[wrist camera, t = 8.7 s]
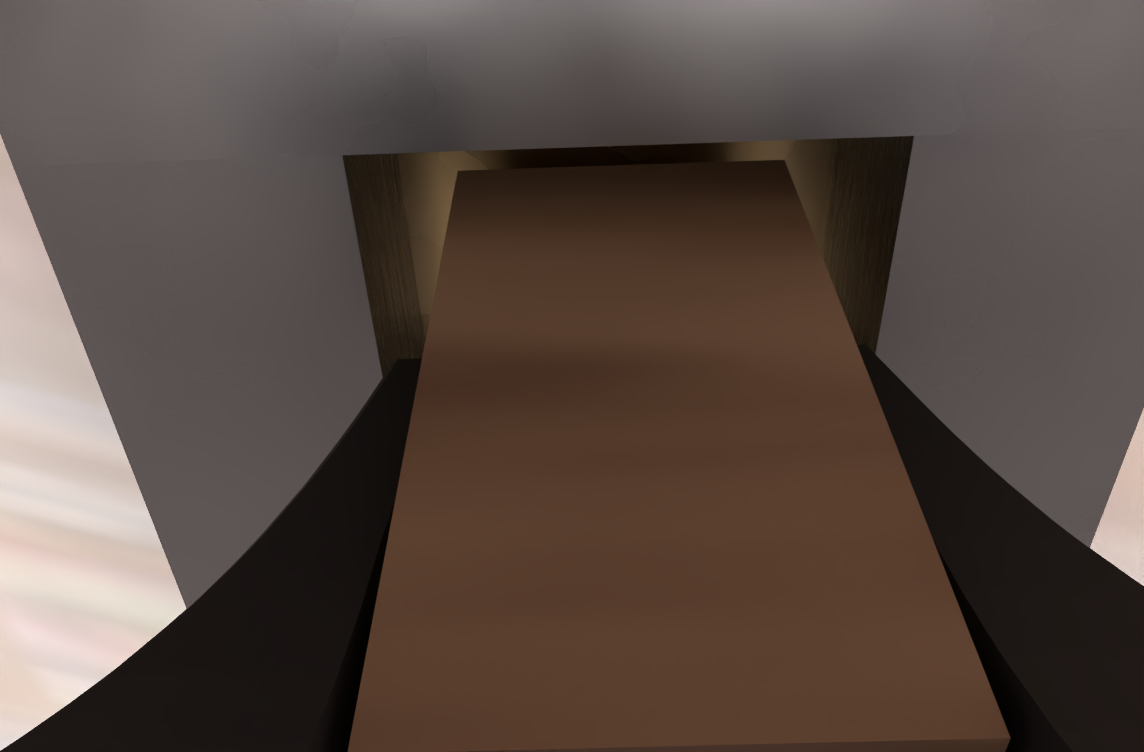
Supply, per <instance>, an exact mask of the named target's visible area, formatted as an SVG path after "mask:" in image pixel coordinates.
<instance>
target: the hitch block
mask: <svg viewBox="0 0 1144 752" xmlns="http://www.w3.org/2000/svg"><path fill="white" fill-rule="evenodd" d="M0 134H1V136H2V139H3V142H4V144H5V147H6V149H7V152H8V154H9V157H10V159H11V162H12V164H13V167H14V170H15V172H16V175H17V177H18V180H19V182H20V185H21V187H22V190H23V192H24V195H25V198H26V200H27V203H28V205H29V208H30V210H31V213H32V215H33V218H34V221H35V223H36V226H37V228H38V231H39V233H40V236H41V238H42V241H43V243H44V246H45V249H46V251H47V254H48V256H49V259H50V261H51V264H52V266H53V269H54V271H55V274H56V277H57V279H58V282H59V284H60V287H61V289H62V292H63V294H64V297H65V300H66V302H67V305H68V307H69V310H70V312H71V315H72V317H73V320H74V322H75V325H76V328H77V330H78V333H79V335H80V338H81V340H82V343H83V345H84V348H85V350H86V353H87V356H88V358H89V361H90V363H91V366H92V368H93V371H94V373H95V376H96V379H97V381H98V384H99V386H100V389H101V391H102V394H103V396H104V399H105V401H106V404H107V407H108V409H109V412H110V414H111V417H112V419H113V422H114V424H115V427H116V429H117V432H118V435H119V437H120V440H121V442H122V445H123V447H124V450H125V452H126V455H127V458H128V460H129V463H130V465H131V468H132V470H133V473H134V475H135V478H136V480H137V483H138V486H139V488H140V491H141V493H142V496H143V498H144V501H145V503H146V506H147V508H148V511H149V514H150V516H151V519H152V521H153V524H154V526H155V529H156V531H157V534H158V537H159V539H160V542H161V544H162V547H163V549H164V552H165V554H166V557H167V559H168V562H169V565H170V567H171V570H172V572H173V575H174V577H175V580H176V582H177V585H178V588H179V590H180V593H181V595H182V598H183V600H184V603H185V605H186V608H188V607H189V606H191V605H192V604H193V603H194V602H195V601H196V600H197V599H198V598H199V597H200V596H201V595H202V594H203V593H204V592H205V591H207V590H208V589H209V588H210V587H211V586H212V585H213V584H214V583H215V582H216V581H217V580H218V579H219V578H220V577H221V576H222V575H223V574H224V573H225V572H226V571H227V570H228V569H229V568H230V567H231V566H232V565H233V564H234V563H235V562H236V561H237V560H238V559H239V558H240V557H241V556H242V555H243V554H244V553H245V552H246V551H247V550H248V548H249V547H250V546H251V545H252V544H253V543H254V542H255V541H256V540H257V539H258V538H259V537H260V536H261V535H262V533H263V532H264V531H265V530H266V529H267V528H268V526H269V525H270V524H271V523H272V522H273V521H274V520H275V518H276V517H277V516H278V515H279V514H280V513H281V512H282V510H283V509H284V508H285V507H286V506H287V505H288V503H289V502H290V501H291V500H292V499H293V498H294V497H295V495H296V494H297V493H298V492H299V491H300V490H301V488H302V487H303V486H304V485H305V483H306V482H307V481H308V480H309V479H310V477H311V476H312V475H313V473H314V472H315V471H316V470H317V468H318V467H319V466H320V464H321V463H322V462H323V460H324V459H325V458H326V457H327V455H328V454H329V453H330V451H331V450H332V449H333V447H334V446H335V445H336V443H337V442H338V441H339V440H340V438H341V437H342V436H343V434H344V433H345V431H346V430H347V429H348V427H349V426H350V424H351V423H352V422H353V420H354V419H355V418H356V416H357V415H358V413H359V412H360V410H361V409H362V408H363V406H364V405H365V403H366V402H367V400H368V399H369V397H370V396H371V394H372V393H373V391H374V390H375V388H376V387H377V385H378V384H379V382H380V381H381V379H382V378H383V376H384V375H385V373H386V372H387V370H388V369H389V367H390V366H391V365H392V364H393V363H394V362H395V361H396V360H397V359H414V358H422V356H423V351H424V346H425V341H426V335H427V330H428V325H429V320H430V314H431V309H432V304H433V298H434V293H435V288H436V283H437V277H438V272H439V267H440V262H441V256H442V251H443V246H444V240H445V235H446V230H447V225H448V219H449V214H450V209H451V204H452V198H453V193H454V188H455V182H456V177H457V172H458V171H464V170H493V169H523V168H553V167H583V166H612V165H642V164H672V163H701V162H731V161H761V160H785V163H786V165H787V168H788V170H789V173H790V175H791V178H792V180H793V183H794V186H795V188H796V191H797V193H798V196H799V198H800V201H801V203H802V206H803V209H804V211H805V214H806V216H807V219H808V221H809V224H810V226H811V229H812V232H813V234H814V237H815V239H816V242H817V244H818V247H819V249H820V252H821V255H822V257H823V260H824V262H825V265H826V267H827V270H828V272H829V275H830V278H831V280H832V283H833V285H834V288H835V290H836V293H837V295H838V298H839V301H840V303H841V306H842V308H843V311H844V313H845V316H846V318H847V321H848V324H849V326H850V329H851V331H852V334H853V336H854V339H855V342H856V344H857V345H867V346H868V347H869V348H870V349H871V350H872V351H873V352H874V353H875V354H876V355H877V356H878V357H879V358H880V360H881V361H882V362H883V363H884V364H885V365H886V366H887V367H888V368H889V369H890V370H891V371H892V372H893V373H894V374H895V375H896V376H897V377H898V378H899V379H900V380H901V381H902V382H903V383H904V384H905V385H906V386H907V387H908V388H909V389H910V390H911V391H912V392H913V393H914V394H915V395H916V396H917V397H918V398H919V399H920V400H921V401H922V402H923V403H924V404H925V405H926V406H927V407H928V408H929V409H930V410H931V411H932V412H933V413H934V414H935V415H936V416H937V417H938V418H939V419H940V420H941V421H942V422H943V423H944V424H945V425H946V426H947V427H948V428H949V429H950V430H951V431H952V432H953V433H954V434H955V435H956V436H957V437H958V438H959V439H960V440H961V441H962V442H964V443H965V444H966V445H967V446H968V447H969V448H970V449H971V450H972V451H973V452H974V453H975V454H976V455H977V456H978V457H980V458H981V459H982V460H983V461H984V462H985V463H986V464H987V465H988V466H989V467H991V468H992V469H993V470H994V471H995V472H996V473H997V474H998V475H1000V476H1001V477H1002V478H1003V479H1004V480H1005V481H1006V482H1007V483H1009V484H1010V485H1011V486H1012V487H1013V488H1015V489H1016V490H1017V491H1018V492H1019V493H1021V494H1022V495H1023V496H1024V497H1025V498H1027V499H1028V500H1029V501H1030V502H1031V503H1033V504H1034V505H1035V506H1036V507H1037V508H1039V509H1040V510H1041V511H1042V512H1043V513H1045V514H1046V515H1047V516H1048V517H1050V518H1051V519H1052V520H1053V521H1054V522H1056V523H1057V524H1058V525H1060V526H1061V527H1062V528H1063V529H1065V530H1066V531H1067V532H1069V533H1070V534H1071V535H1073V536H1074V537H1075V538H1077V539H1078V540H1079V541H1080V542H1082V543H1083V544H1085V545H1086V546H1087V547H1089V548H1090V545H1091V543H1092V540H1093V538H1094V535H1095V532H1096V530H1097V527H1098V525H1099V522H1100V519H1101V517H1102V514H1103V512H1104V509H1105V506H1106V504H1107V501H1108V499H1109V496H1110V493H1111V491H1112V488H1113V486H1114V483H1115V481H1116V478H1117V475H1118V473H1119V470H1120V468H1121V465H1122V462H1123V460H1124V457H1125V455H1126V452H1127V449H1128V447H1129V444H1130V442H1131V439H1132V436H1133V434H1134V431H1135V429H1136V426H1137V423H1138V421H1139V418H1140V416H1141V413H1142V410H1143V408H1144V0H0Z"/></svg>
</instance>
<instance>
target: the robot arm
mask: <svg viewBox="0 0 1144 752" xmlns="http://www.w3.org/2000/svg"><path fill="white" fill-rule="evenodd" d="M857 347H858V349H859V352H860V354H861V357H862V359H863V362H864V365H865V367H866V370H867V372H868V375H869V377H870V380H871V382H872V385H873V388H874V390H875V393H876V395H877V398H878V400H879V403H880V405H881V408H882V411H883V413H884V416H885V418H886V421H887V423H888V426H889V428H890V431H891V434H892V436H893V439H894V441H895V444H896V446H897V449H898V451H899V454H900V457H901V459H902V462H903V464H904V467H905V469H906V472H907V474H908V477H909V480H910V482H911V485H912V487H913V490H914V492H915V495H916V497H917V500H918V503H919V505H920V508H921V510H922V513H923V515H924V518H925V520H926V523H927V526H928V528H929V531H930V533H931V536H932V538H933V541H934V543H935V546H936V549H937V551H938V554H939V556H940V559H941V561H942V564H943V567H944V569H945V572H946V574H947V577H948V579H949V582H950V584H951V587H952V590H953V592H954V595H955V597H956V600H957V602H958V605H959V607H960V610H961V613H962V615H963V618H964V620H965V623H966V625H967V628H968V630H969V633H970V636H971V638H972V641H973V643H974V646H975V648H976V651H977V653H978V656H979V659H980V661H981V664H982V666H983V669H984V671H985V674H986V676H987V679H988V682H989V684H990V687H991V689H992V692H993V694H994V697H995V699H996V702H997V705H998V707H999V710H1000V712H1001V715H1002V717H1003V720H1004V722H1005V725H1006V728H1007V730H1008V733H1009V735H1010V741H1009V743H1008V746H1007V749H1006V751H1005V752H1144V586H1143V585H1141V584H1140V583H1138V582H1137V581H1135V580H1134V579H1132V578H1131V577H1130V576H1128V575H1127V574H1125V573H1124V572H1123V571H1121V570H1120V569H1118V568H1117V567H1115V566H1114V565H1113V564H1111V563H1110V562H1108V561H1107V560H1106V559H1104V558H1103V557H1101V556H1100V555H1099V554H1097V553H1096V552H1094V551H1093V550H1092V549H1090V548H1089V547H1087V546H1086V545H1085V544H1083V543H1082V542H1080V541H1079V540H1078V539H1077V538H1075V537H1074V536H1073V535H1071V534H1070V533H1069V532H1067V531H1066V530H1065V529H1063V528H1062V527H1061V526H1060V525H1058V524H1057V523H1056V522H1054V521H1053V520H1052V519H1051V518H1050V517H1048V516H1047V515H1046V514H1045V513H1043V512H1042V511H1041V510H1040V509H1039V508H1037V507H1036V506H1035V505H1034V504H1033V503H1031V502H1030V501H1029V500H1028V499H1027V498H1025V497H1024V496H1023V495H1022V494H1021V493H1019V492H1018V491H1017V490H1016V489H1015V488H1013V487H1012V486H1011V485H1010V484H1009V483H1007V482H1006V481H1005V480H1004V479H1003V478H1002V477H1001V476H1000V475H998V474H997V473H996V472H995V471H994V470H993V469H992V468H991V467H989V466H988V465H987V464H986V463H985V462H984V461H983V460H982V459H981V458H980V457H978V456H977V455H976V454H975V453H974V452H973V451H972V450H971V449H970V448H969V447H968V446H967V445H966V444H965V443H964V442H962V441H961V440H960V439H959V438H958V437H957V436H956V435H955V434H954V433H953V432H952V431H951V430H950V429H949V428H948V427H947V426H946V425H945V424H944V423H943V422H942V421H941V420H940V419H939V418H938V417H937V416H936V415H935V414H934V413H933V412H932V411H931V410H930V409H929V408H928V407H927V406H926V405H925V404H924V403H923V402H922V401H921V400H920V399H919V398H918V397H917V396H916V395H915V394H914V393H913V392H912V391H911V390H910V389H909V388H908V387H907V386H906V385H905V384H904V383H903V382H902V381H901V380H900V379H899V378H898V377H897V376H896V375H895V374H894V373H893V372H892V371H891V370H890V369H889V368H888V367H887V366H886V365H885V364H884V363H883V362H882V361H881V360H880V358H879V357H878V356H877V355H876V354H875V353H874V352H873V351H872V350H871V349H870V348H869V347H868V346H867V345H857ZM421 362H422V358H414V359H397V360H396V361H395V362H394V363H393V364H392V365H391V366H390V367H389V369H388V370H387V372H386V373H385V375H384V376H383V378H382V379H381V381H380V382H379V384H378V385H377V387H376V388H375V390H374V391H373V393H372V394H371V396H370V397H369V399H368V400H367V402H366V403H365V405H364V406H363V408H362V409H361V410H360V412H359V413H358V415H357V416H356V418H355V419H354V420H353V422H352V423H351V424H350V426H349V427H348V429H347V430H346V431H345V433H344V434H343V436H342V437H341V438H340V440H339V441H338V442H337V443H336V445H335V446H334V447H333V449H332V450H331V451H330V453H329V454H328V455H327V457H326V458H325V459H324V460H323V462H322V463H321V464H320V466H319V467H318V468H317V470H316V471H315V472H314V473H313V475H312V476H311V477H310V479H309V480H308V481H307V482H306V483H305V485H304V486H303V487H302V488H301V490H300V491H299V492H298V493H297V494H296V495H295V497H294V498H293V499H292V500H291V501H290V502H289V503H288V505H287V506H286V507H285V508H284V509H283V510H282V512H281V513H280V514H279V515H278V516H277V517H276V518H275V520H274V521H273V522H272V523H271V524H270V525H269V526H268V528H267V529H266V530H265V531H264V532H263V533H262V535H261V536H260V537H259V538H258V539H257V540H256V541H255V542H254V543H253V544H252V545H251V546H250V547H249V548H248V550H247V551H246V552H245V553H244V554H243V555H242V556H241V557H240V558H239V559H238V560H237V561H236V562H235V563H234V564H233V565H232V566H231V567H230V568H229V569H228V570H227V571H226V572H225V573H224V574H223V575H222V576H221V577H220V578H219V579H218V580H217V581H216V582H215V583H214V584H213V585H212V586H211V587H210V588H209V589H208V590H207V591H205V592H204V593H203V594H202V595H201V596H200V597H199V598H198V599H197V600H196V601H195V602H194V603H193V604H192V605H191V606H189V607H188V608H187V609H186V610H185V611H184V612H183V613H181V614H180V615H179V616H178V617H177V618H176V619H175V620H174V621H172V622H171V623H170V624H169V625H168V626H167V627H166V628H164V629H163V630H162V631H161V632H160V633H158V634H157V635H156V636H155V637H153V638H152V639H151V640H150V641H149V642H147V643H146V644H145V645H144V646H143V647H141V648H140V649H139V650H138V651H137V652H135V653H134V654H133V655H132V656H131V657H129V658H128V659H127V660H126V661H125V662H123V663H122V664H121V665H120V666H119V667H117V668H116V669H115V670H113V671H112V672H111V673H110V674H108V675H107V676H106V677H104V678H103V679H102V680H100V681H99V682H98V683H96V684H95V685H94V686H92V687H91V688H90V689H88V690H87V691H86V692H84V693H83V694H81V695H80V696H79V697H77V698H76V699H75V700H73V701H72V702H71V703H69V704H68V705H67V706H65V707H64V708H62V709H61V710H59V711H58V712H57V713H55V714H54V715H52V716H51V717H49V718H48V719H47V720H45V721H44V722H42V723H41V724H39V725H38V726H37V727H35V728H34V729H32V730H31V731H29V732H28V733H27V734H25V735H24V736H22V737H21V738H19V739H18V740H16V741H15V742H13V743H12V744H10V745H9V746H7V747H6V748H4V749H3V750H1V751H0V752H348V747H349V741H350V736H351V731H352V726H353V720H354V715H355V710H356V705H357V699H358V694H359V689H360V683H361V678H362V673H363V668H364V662H365V657H366V652H367V647H368V641H369V636H370V631H371V625H372V620H373V615H374V610H375V604H376V599H377V594H378V589H379V583H380V578H381V573H382V567H383V562H384V557H385V552H386V546H387V541H388V536H389V530H390V525H391V520H392V515H393V509H394V504H395V499H396V494H397V488H398V483H399V478H400V472H401V467H402V462H403V457H404V451H405V446H406V441H407V436H408V430H409V425H410V420H411V414H412V409H413V404H414V399H415V393H416V388H417V383H418V378H419V372H420V367H421Z"/></svg>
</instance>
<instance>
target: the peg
mask: <svg viewBox="0 0 1144 752" xmlns="http://www.w3.org/2000/svg"><path fill="white" fill-rule="evenodd" d="M1009 741H1010V735H1009V733H1008V730H1007V728H1006V725H1005V722H1004V720H1003V717H1002V715H1001V712H1000V710H999V707H998V705H997V702H996V699H995V697H994V694H993V692H992V689H991V687H990V684H989V682H988V679H987V676H986V674H985V671H984V669H983V666H982V664H981V661H980V659H979V656H978V653H977V651H976V648H975V646H974V643H973V641H972V638H971V636H970V633H969V630H968V628H967V625H966V623H965V620H964V618H963V615H962V613H961V610H960V607H959V605H958V602H957V600H956V597H955V595H954V592H953V590H952V587H951V584H950V582H949V579H948V577H947V574H946V572H945V569H944V567H943V564H942V561H941V559H940V556H939V554H938V551H937V549H936V546H935V543H934V541H933V538H932V536H931V533H930V531H929V528H928V526H927V523H926V520H925V518H924V515H923V513H922V510H921V508H920V505H919V503H918V500H917V497H916V495H915V492H914V490H913V487H912V485H911V482H910V480H909V477H908V474H907V472H906V469H905V467H904V464H903V462H902V459H901V457H900V454H899V451H898V449H897V446H896V444H895V441H894V439H893V436H892V434H891V431H890V428H889V426H888V423H887V421H886V418H885V416H884V413H883V411H882V408H881V405H880V403H879V400H878V398H877V395H876V393H875V390H874V388H873V385H872V382H871V380H870V377H869V375H868V372H867V370H866V367H865V365H864V362H863V359H862V357H861V354H860V352H859V349H858V347H857V344H856V342H855V339H854V336H853V334H852V331H851V329H850V326H849V324H848V321H847V318H846V316H845V313H844V311H843V308H842V306H841V303H840V301H839V298H838V295H837V293H836V290H835V288H834V285H833V283H832V280H831V278H830V275H829V272H828V270H827V267H826V265H825V262H824V260H823V257H822V255H821V252H820V249H819V247H818V244H817V242H816V239H815V237H814V234H813V232H812V229H811V226H810V224H809V221H808V219H807V216H806V214H805V211H804V209H803V206H802V203H801V201H800V198H799V196H798V193H797V191H796V188H795V186H794V183H793V180H792V178H791V175H790V173H789V170H788V168H787V165H786V163H785V160H761V161H731V162H701V163H672V164H642V165H612V166H583V167H553V168H523V169H493V170H464V171H458V172H457V177H456V182H455V188H454V193H453V198H452V204H451V209H450V214H449V219H448V225H447V230H446V235H445V240H444V246H443V251H442V256H441V262H440V267H439V272H438V277H437V283H436V288H435V293H434V298H433V304H432V309H431V314H430V320H429V325H428V330H427V335H426V341H425V346H424V351H423V356H422V362H421V367H420V372H419V378H418V383H417V388H416V393H415V399H414V404H413V409H412V414H411V420H410V425H409V430H408V436H407V441H406V446H405V451H404V457H403V462H402V467H401V472H400V478H399V483H398V488H397V494H396V499H395V504H394V509H393V515H392V520H391V525H390V530H389V536H388V541H387V546H386V552H385V557H384V562H383V567H382V573H381V578H380V583H379V589H378V594H377V599H376V604H375V610H374V615H373V620H372V625H371V631H370V636H369V641H368V647H367V652H366V657H365V662H364V668H363V673H362V678H361V683H360V689H359V694H358V699H357V705H356V710H355V715H354V720H353V726H352V731H351V736H350V741H349V747H348V752H1005V751H1006V749H1007V746H1008V743H1009Z"/></svg>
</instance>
